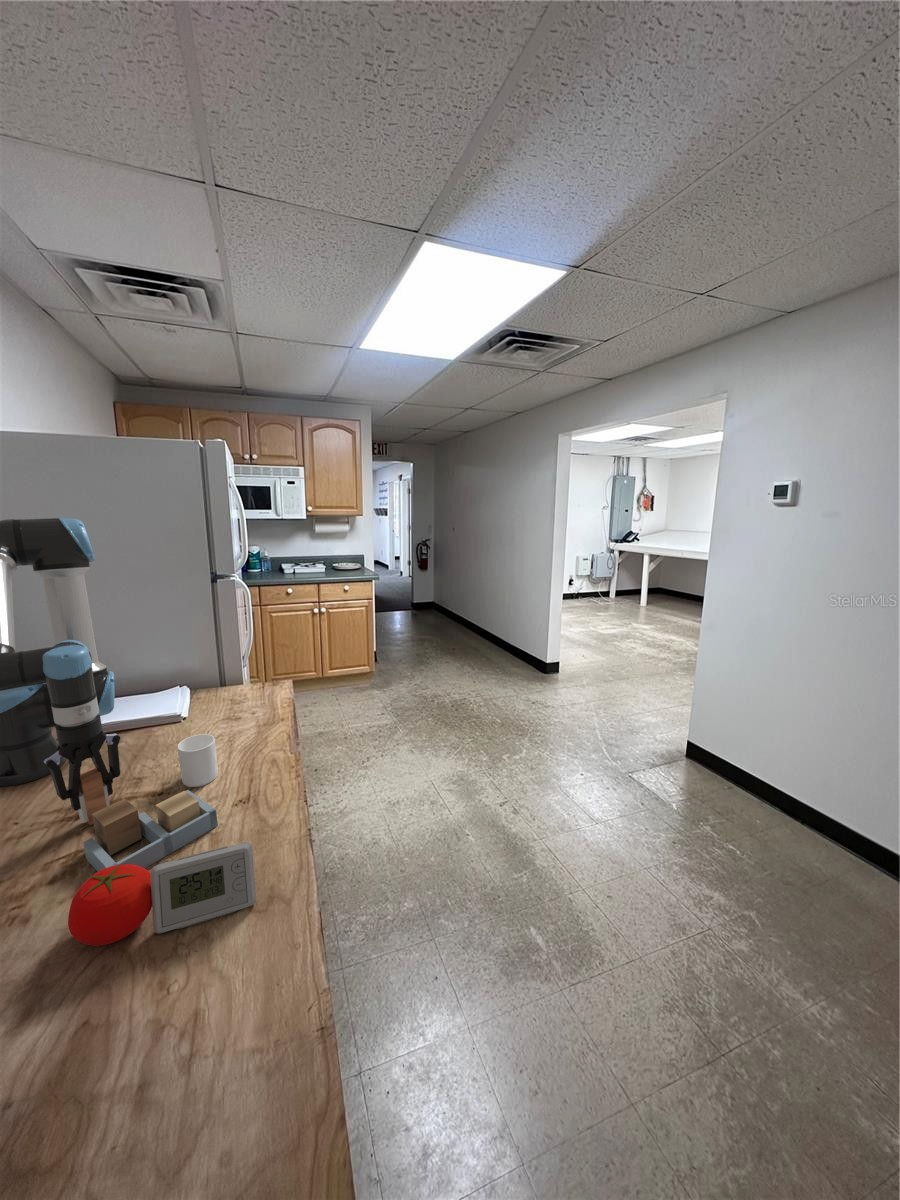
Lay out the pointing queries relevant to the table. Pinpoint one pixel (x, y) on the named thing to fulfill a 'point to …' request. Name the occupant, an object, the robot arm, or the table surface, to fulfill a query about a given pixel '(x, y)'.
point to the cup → (198, 760)
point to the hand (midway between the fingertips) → (95, 814)
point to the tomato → (110, 905)
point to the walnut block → (109, 815)
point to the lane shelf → (156, 839)
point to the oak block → (177, 811)
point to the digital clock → (202, 887)
